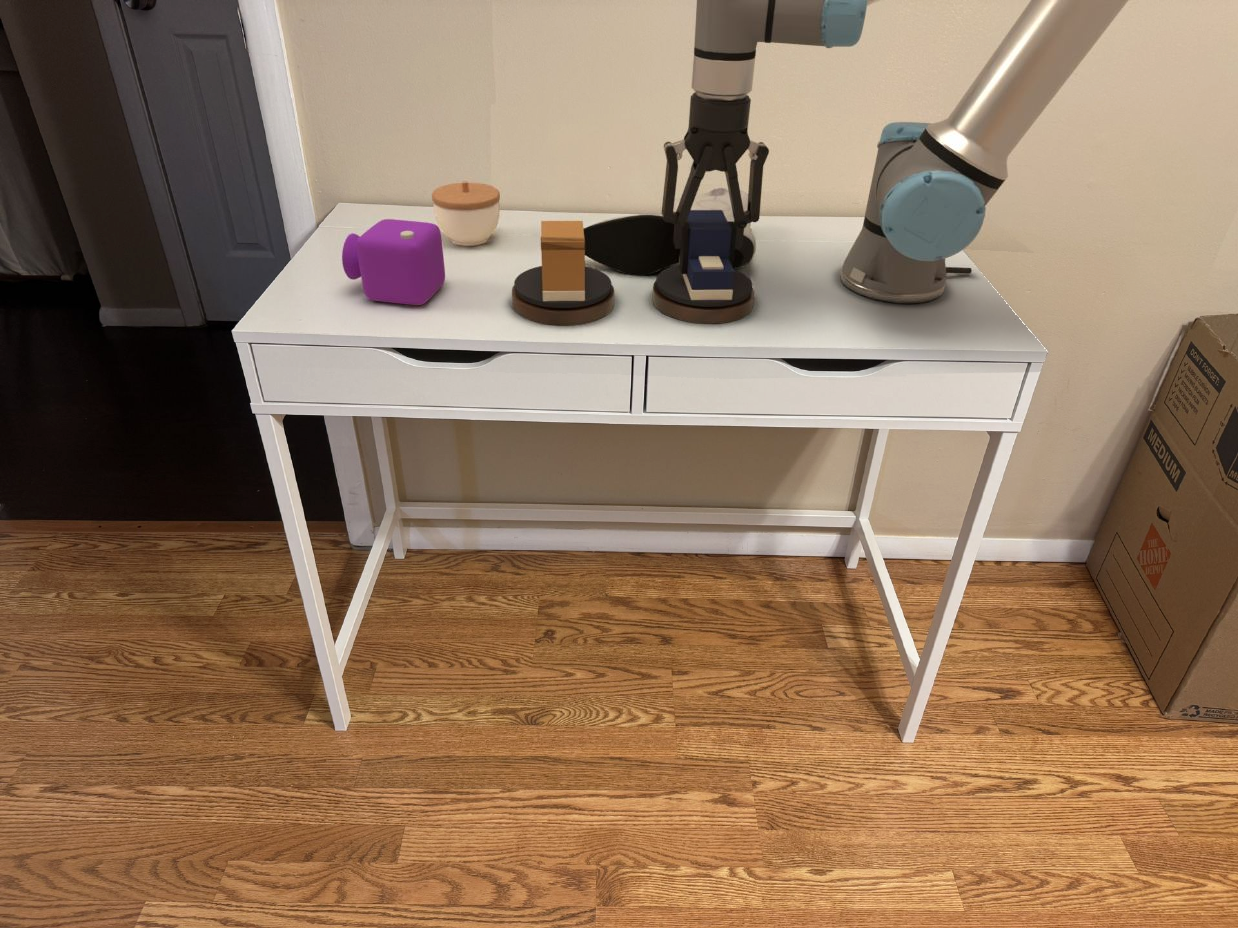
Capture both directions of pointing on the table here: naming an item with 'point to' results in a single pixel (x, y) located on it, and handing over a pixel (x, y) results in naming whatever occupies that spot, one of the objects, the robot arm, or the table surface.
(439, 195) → the trinket box
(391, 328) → the table surface
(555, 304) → the tan sneaker
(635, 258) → the cowboy boot
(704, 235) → the navy and black piece
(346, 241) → the toy camera
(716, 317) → the turntable base
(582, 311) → the turntable base
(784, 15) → the robot arm
